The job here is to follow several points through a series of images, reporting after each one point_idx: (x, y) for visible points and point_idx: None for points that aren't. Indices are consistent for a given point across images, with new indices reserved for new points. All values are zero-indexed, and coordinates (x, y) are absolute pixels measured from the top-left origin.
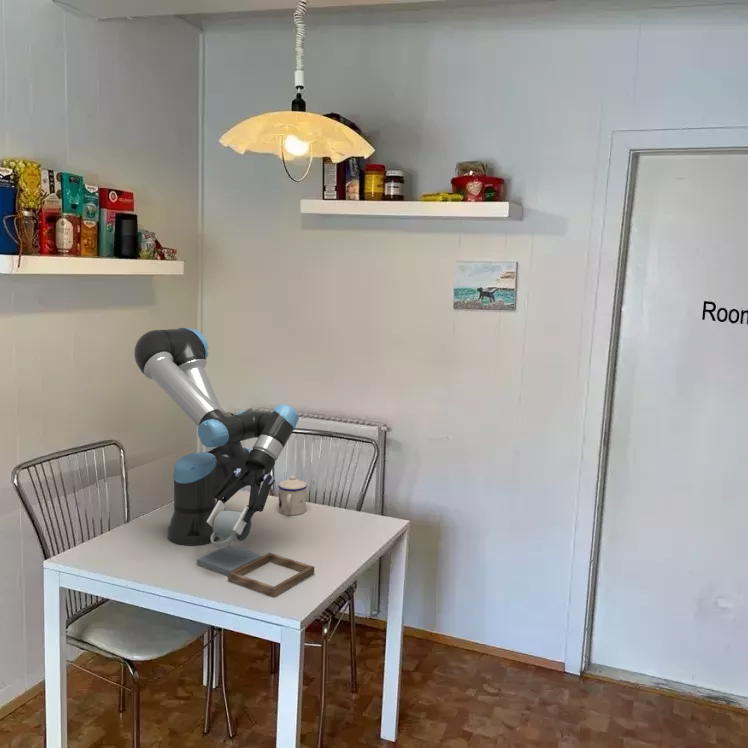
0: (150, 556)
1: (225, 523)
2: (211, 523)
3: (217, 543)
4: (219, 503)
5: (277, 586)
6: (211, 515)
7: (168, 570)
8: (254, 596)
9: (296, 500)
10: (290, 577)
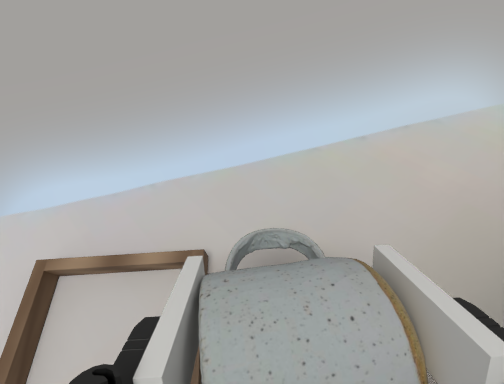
0: (480, 223)
1: (272, 267)
2: (375, 270)
3: (256, 231)
4: (466, 335)
5: (34, 277)
6: (402, 265)
7: (365, 202)
8: (100, 238)
9: None
10: (14, 356)
